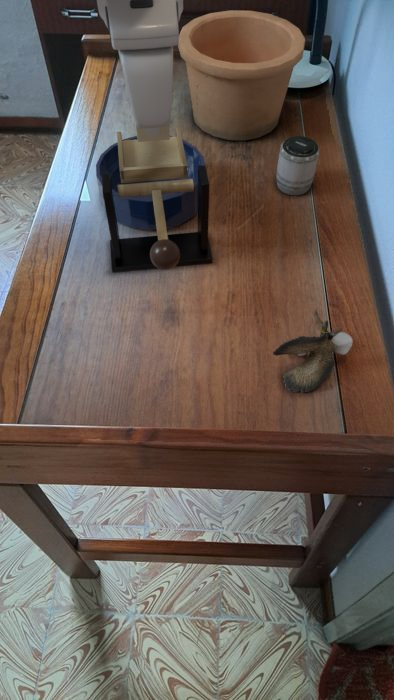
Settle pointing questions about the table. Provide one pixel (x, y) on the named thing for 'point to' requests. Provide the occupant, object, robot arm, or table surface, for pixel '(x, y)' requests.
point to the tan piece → (155, 184)
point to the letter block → (161, 136)
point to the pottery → (239, 70)
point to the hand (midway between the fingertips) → (151, 119)
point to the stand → (137, 250)
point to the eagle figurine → (313, 356)
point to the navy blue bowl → (141, 207)
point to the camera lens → (297, 165)
